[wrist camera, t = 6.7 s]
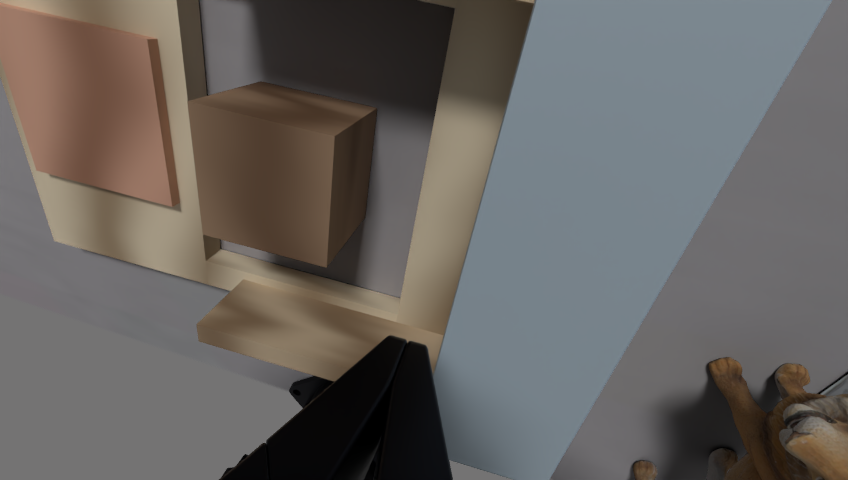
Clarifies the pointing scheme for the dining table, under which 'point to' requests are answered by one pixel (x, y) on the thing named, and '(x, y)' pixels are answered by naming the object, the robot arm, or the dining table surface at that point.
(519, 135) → the sliding slat
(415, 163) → the dining table surface
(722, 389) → the lion figurine
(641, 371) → the dining table surface
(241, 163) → the walnut block
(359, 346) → the puzzle board
